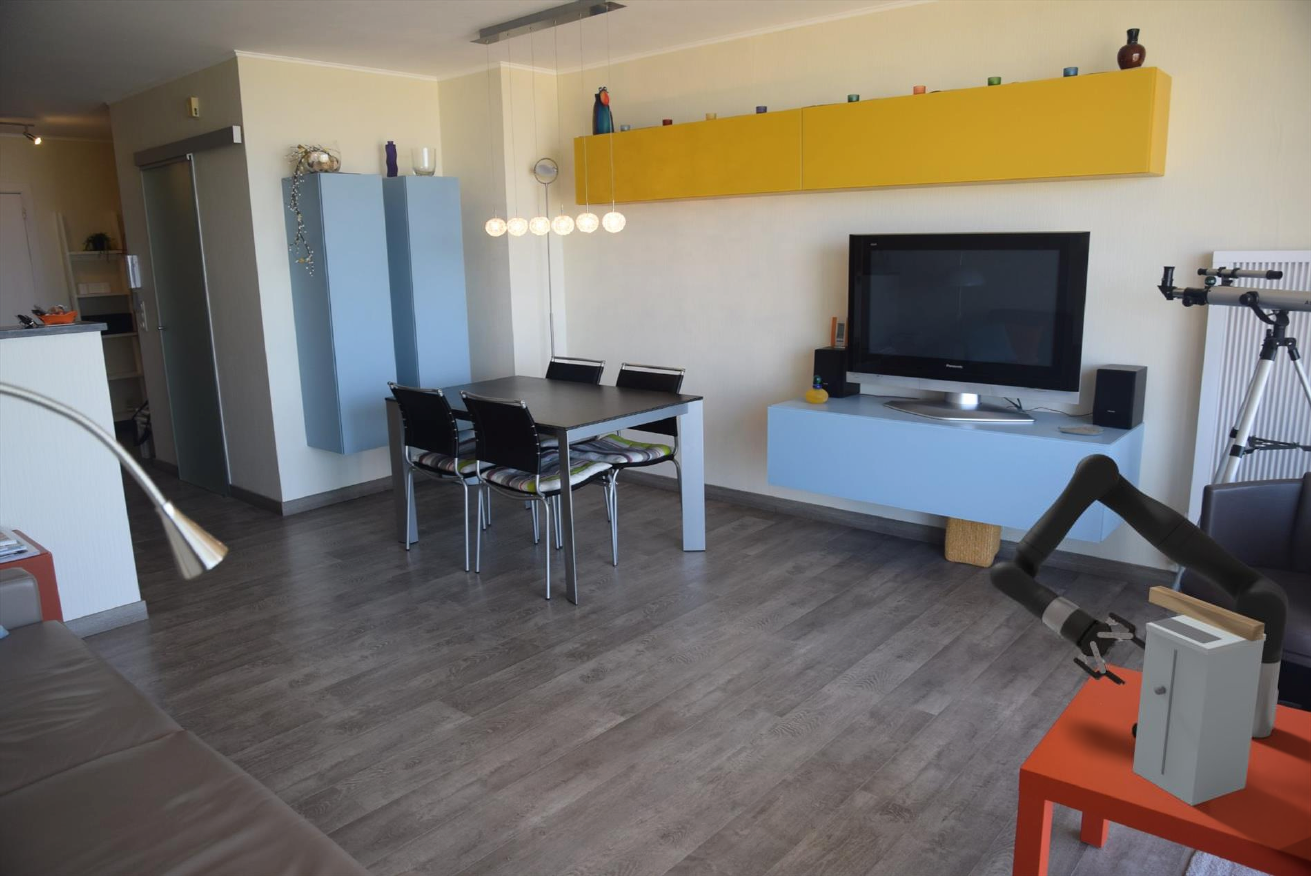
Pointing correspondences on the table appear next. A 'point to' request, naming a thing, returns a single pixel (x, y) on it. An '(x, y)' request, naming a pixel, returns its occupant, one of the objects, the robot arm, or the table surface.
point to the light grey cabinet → (1196, 708)
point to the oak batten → (1207, 613)
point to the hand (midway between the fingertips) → (1136, 667)
